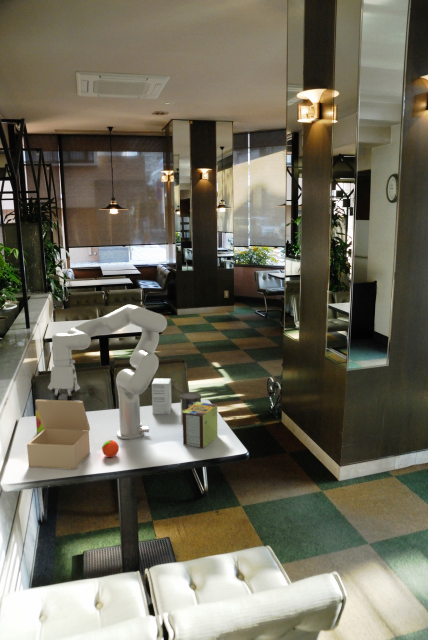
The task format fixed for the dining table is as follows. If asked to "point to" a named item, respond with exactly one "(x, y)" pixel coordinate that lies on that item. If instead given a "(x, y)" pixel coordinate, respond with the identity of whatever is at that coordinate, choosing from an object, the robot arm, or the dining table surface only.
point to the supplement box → (161, 396)
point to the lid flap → (63, 414)
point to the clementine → (110, 448)
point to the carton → (58, 449)
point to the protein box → (199, 424)
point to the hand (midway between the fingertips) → (64, 403)
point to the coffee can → (188, 401)
